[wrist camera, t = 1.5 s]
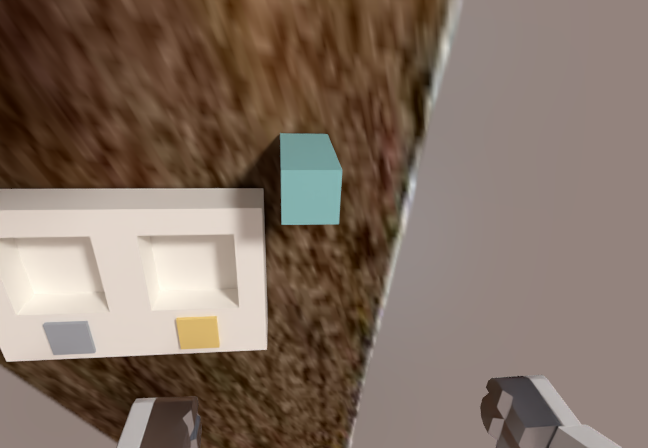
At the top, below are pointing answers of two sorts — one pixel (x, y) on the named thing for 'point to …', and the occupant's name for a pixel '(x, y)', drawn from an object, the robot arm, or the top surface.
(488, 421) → the robot arm
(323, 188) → the plug
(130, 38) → the top surface
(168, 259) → the socket block
